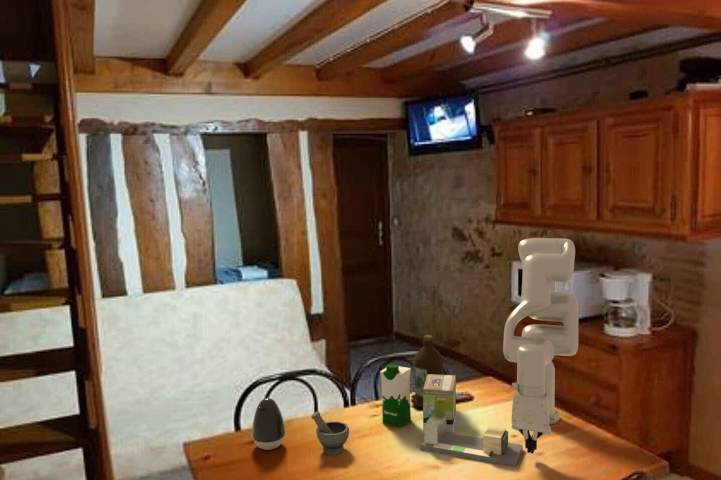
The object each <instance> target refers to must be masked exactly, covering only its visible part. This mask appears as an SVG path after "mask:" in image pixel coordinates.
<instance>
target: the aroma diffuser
mask: <svg viewBox="0 0 721 480" xmlns="http://www.w3.org/2000/svg"><path fill="white" fill-rule="evenodd" d="M278 405H279V404H278V403H277V402H276V401H275V400H274V398H273V399H272V398H270V397H266V398H262V399H261V401H259V403H258V405H257V407H256V409H255V413H254V416H253V421H252V426H251V427H252V429H251V438H252V440H253V442H254V444H255V445H256V446H257V447H258V448H259V449H261V450H265V451H266V450H269V451H270V450H274V449H276V448H278V447H279V446H281V445H282V444H283V441H284V440H285V436H286V427H285V426H286V425H285V422H284V417H283V415H282V412H281V409H280V407H279V406H278Z"/></svg>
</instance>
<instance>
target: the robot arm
mask: <svg viewBox="0 0 721 480" xmlns="http://www.w3.org/2000/svg"><path fill="white" fill-rule="evenodd" d="M517 246H518V247H517V250H518V251H517V252H518V256H519V258H520V261H521V265H522V278H521V279H522V283H521V298H520V299H521V300H520V303H519V304H518V305H517V306H516V307H515V308H514V309H513V310H512V312H511V313H510V314H509V316H508V317H507V320H506V322H505V324H504V331H503V342H502V343H503V345H502V348H503V349H502V351H503V352H502V353H503V356H504V358H505V359H506V360H507V361H508V362H511V363H516V366H517V367H516V369H517V370H516V372H517V373H516V375H517V377H516V380H517V381H516V382H512V383H511V388H514V389H515V392H514V394H513V399H512V405H511V406H512V407H511V429H512V430H515V431H517V432H519V433H520V434H521V435H522V436H523V439H524V441H525V442H524V443H525V444H524V445H525V447H524V448H525V449H526V451H527V452H526V453H527V454H530V453H531V454H534V452H535V451H537V449H538V439H539V438H540V437H541V436H545V435H546V436H547V435H551V432H552V429H551V425H554V424H557V423H558V422H559V421H560V414H559V412H557V411H555V387H556V385H555V383H556V381H555V380H556V379H555V378H556V377H555V376H556V375H555V374H556V368H555V365H554V363H553V361H552V360H554V357H555V356H561V357H562V356H563V357H572V356H575V355H576V354H577V352H578V348H579V301H578V299H577V297H576V295H575V294H574V293H571V292H568V291H565V292H563V291H555V282H557V283H558V282H561V283H565V282H569V281H571V280H572V277H573V274H574V270H575V257H576V247H575V244H574V241H573V240H572V239H569V238H556V237H555V238H554V237H553V238H552V237H550V238H549V237H548V238H547V237H531V238H525V239H522V240H520V242H519V243H518V245H517ZM526 317H529V318H530V319H532V320H537V321H545V322H546V321H548V322H549V321H550V322H561V323H562V324H563V325H557V324H556V325H553V324H552V325H551V324H543V323H542V324H541V323H540V324H538V323H537V324H535V323H534V324H528V325H526V326H524V328H523V329H522V332H521V336H518V335H516V336H515V329H516V326H517V324H518V323H519V322H520V321H521V320H523V319H525V318H526ZM531 432H532V434H530V433H531Z"/></svg>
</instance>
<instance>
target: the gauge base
mask: <svg viewBox="0 0 721 480" xmlns="http://www.w3.org/2000/svg"><path fill="white" fill-rule="evenodd" d="M523 447H524V445H523V444H519V443H513V442H508V446H507V448H506V450H505V452H504V453H502V454H501V455H498V454H492V456H491V457H490V456H489V454H490V453H486V452H483V437H482V438H481V437H477V436H476V437H475V436H471V435H466V434H460V433H458V434H457V433H454V432H453V433H447V434H446V435H445V437H444V438H443V439H442V441H441V442H440V443H439V445H438V446H435V445H434V446H433V445H428V444H425V439H424V440H423V441H422V442H421V444H420V451H426V452H431V453H437V454H443V455H449V456H452V457H453V456H454V457H460V458H466V459H469V460H477V461H481V462H486V463H491V464H492V463H493V464H497V465H504V466H509V467H510V466H511V467H514V468H515V467H517V464H518V462H519V460H520V457H521V455H522V453H523V450H524V449H523Z"/></svg>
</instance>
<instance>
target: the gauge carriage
mask: <svg viewBox="0 0 721 480" xmlns="http://www.w3.org/2000/svg"><path fill="white" fill-rule="evenodd" d="M482 436H483V437H482V438H483V452H486V453H490V454H489V456H490V457H491V456H492V454H498V455H501V454H502V453H504V452H505V450H506V448H507V446H508V443H509V431H508V430H507V428H506V427H498V426H493V425H488V426H487V429H486V430H485V432H484V433H483V435H482Z"/></svg>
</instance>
